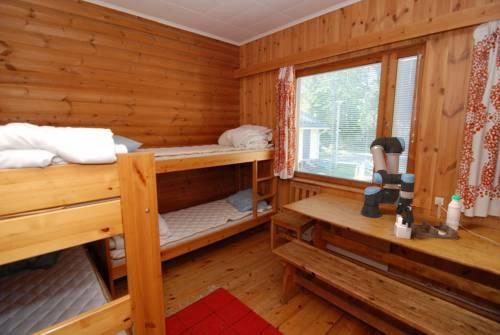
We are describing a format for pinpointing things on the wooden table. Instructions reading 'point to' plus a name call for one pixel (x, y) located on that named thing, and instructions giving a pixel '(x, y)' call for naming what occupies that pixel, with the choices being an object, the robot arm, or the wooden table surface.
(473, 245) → the wooden table surface
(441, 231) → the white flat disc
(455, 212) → the water bottle
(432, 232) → the rack
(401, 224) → the container
